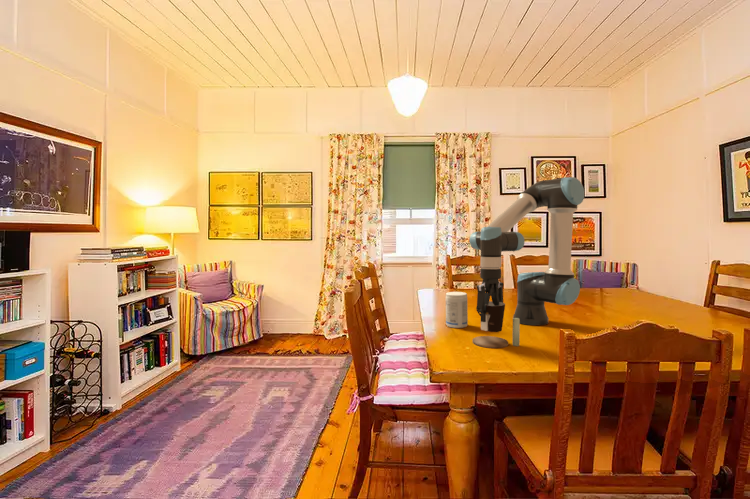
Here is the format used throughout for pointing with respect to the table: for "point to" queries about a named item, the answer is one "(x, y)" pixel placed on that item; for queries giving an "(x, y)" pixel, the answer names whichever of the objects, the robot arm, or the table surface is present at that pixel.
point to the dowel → (516, 331)
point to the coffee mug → (494, 316)
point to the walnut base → (490, 342)
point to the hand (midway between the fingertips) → (490, 328)
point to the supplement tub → (456, 309)
